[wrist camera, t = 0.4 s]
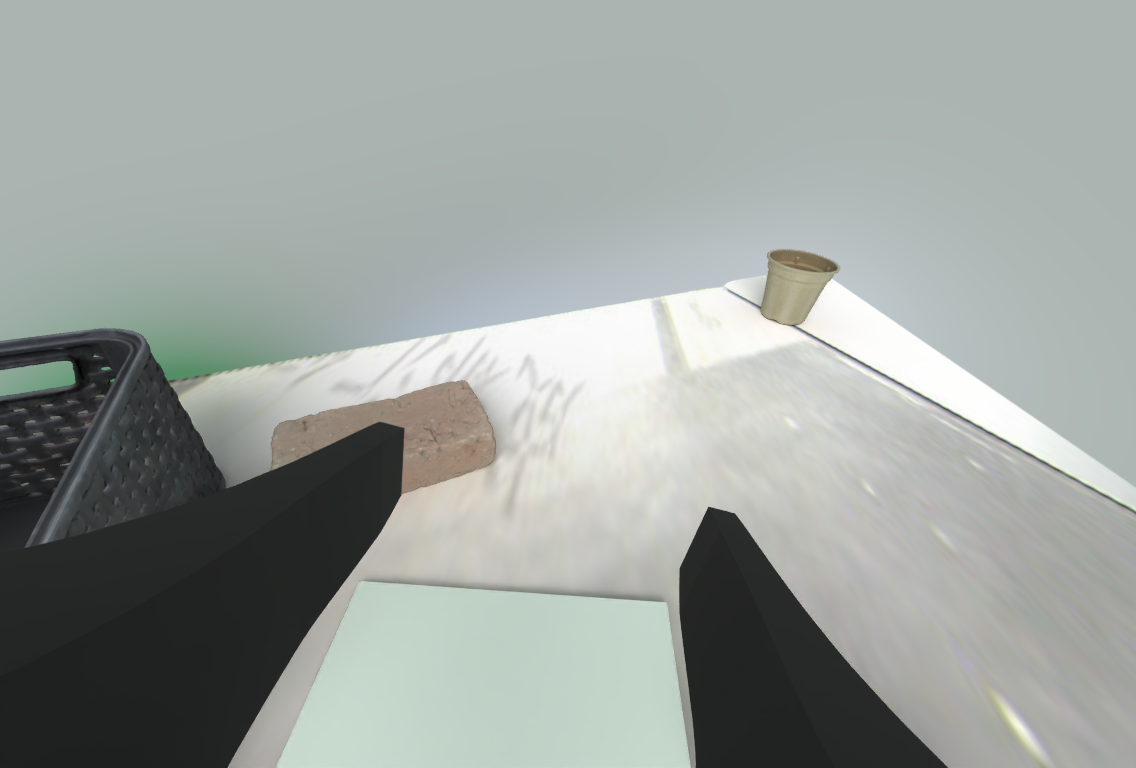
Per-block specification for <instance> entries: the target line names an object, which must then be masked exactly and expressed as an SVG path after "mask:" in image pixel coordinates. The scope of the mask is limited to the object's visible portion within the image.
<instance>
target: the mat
mask: <svg viewBox="0 0 1136 768" xmlns="http://www.w3.org/2000/svg"><path fill="white" fill-rule="evenodd" d="M276 768H691V767H690V760H689V753H688V746H687V739H686V732H685V725H684V718H683V711H682V704H681V697H680V691H679V684H678V677H677V670H676V663H675V656H674V649H673V642H672V635H671V628H670V621H669V614H668V608H667V602H653V601H639V600H625V599H610V598H596V597H582V596H567V595H553V594H539V593H524V592H510V591H496V590H482V589H467V588H453V587H439V586H424V585H410V584H396V583H381V582H367V581H359V583H358V585H357V587H356V590H355V592H354V594H353V596H352V599H351V601H350V603H349V605H348V607H347V610H346V612H345V614H344V616H343V619H342V621H341V623H340V625H339V628H338V630H337V632H336V634H335V637H334V639H333V641H332V643H331V645H330V648H329V650H328V652H327V654H326V657H325V659H324V661H323V663H322V666H321V668H320V670H319V672H318V675H317V677H316V679H315V681H314V683H313V686H312V688H311V690H310V692H309V695H308V697H307V699H306V701H305V704H304V706H303V708H302V710H301V712H300V715H299V717H298V719H297V721H296V724H295V726H294V728H293V730H292V733H291V735H290V737H289V739H288V742H287V744H286V746H285V748H284V750H283V753H282V755H281V757H280V759H279V762H278V764H277V766H276Z"/></svg>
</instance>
